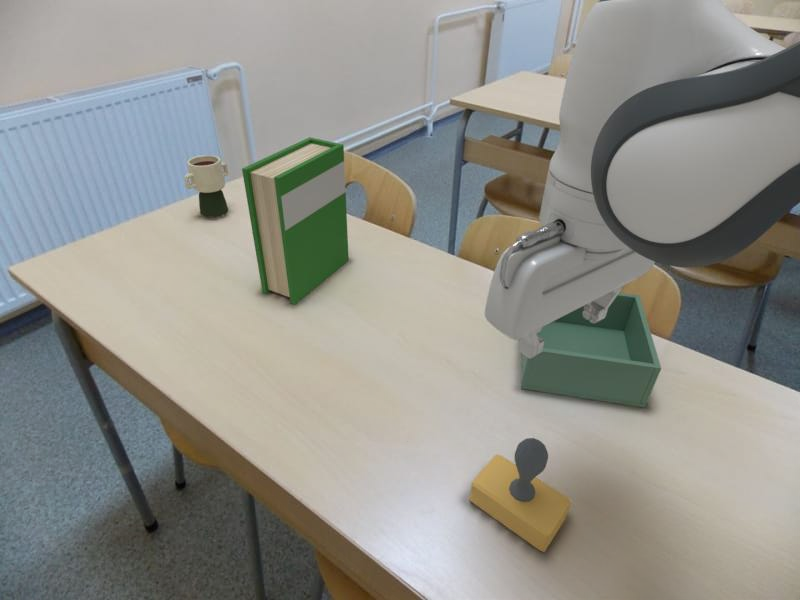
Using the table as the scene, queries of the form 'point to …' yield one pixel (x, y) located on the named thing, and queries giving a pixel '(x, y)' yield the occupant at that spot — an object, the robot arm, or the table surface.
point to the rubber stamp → (521, 494)
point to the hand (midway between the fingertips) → (562, 334)
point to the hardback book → (298, 216)
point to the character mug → (208, 183)
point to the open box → (597, 356)
